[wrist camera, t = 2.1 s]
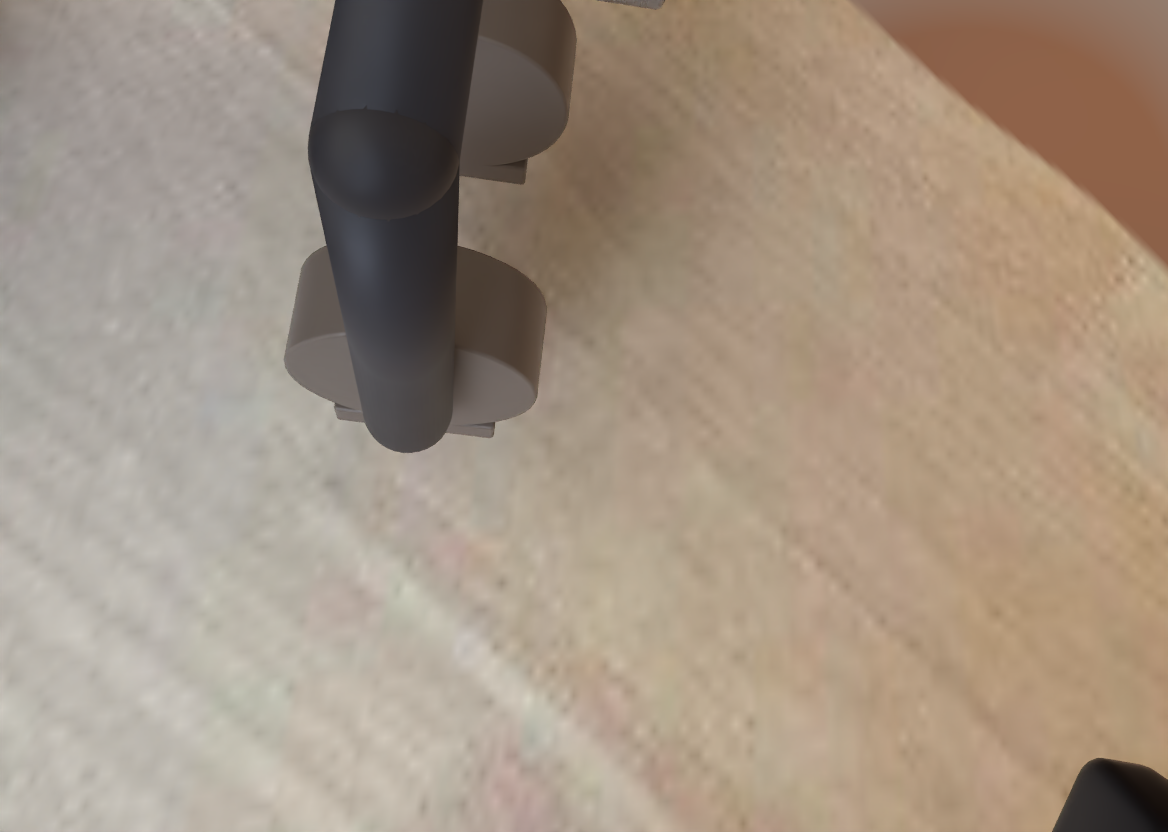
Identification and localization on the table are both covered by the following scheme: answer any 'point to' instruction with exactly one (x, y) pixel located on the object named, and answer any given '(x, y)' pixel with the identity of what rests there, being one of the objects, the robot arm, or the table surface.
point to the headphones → (425, 213)
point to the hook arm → (639, 3)
